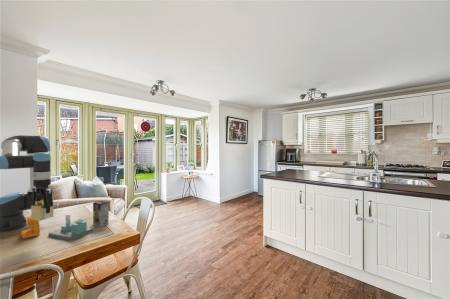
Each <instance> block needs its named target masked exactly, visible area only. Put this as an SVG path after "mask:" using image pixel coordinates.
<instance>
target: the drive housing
mask: <svg viewBox="0 0 450 299" xmlns="http://www.w3.org/2000/svg"><path fill="white" fill-rule="evenodd" d="M87 222H88V221H85V219H84V217H83V218H82V217H81V218H80V219H77V220H75V221H74V222H72V223H71V214H70V213H69V214H68V213H67V214H65V224H64V225H62V226H61V227H60V228H58V229H56V230H53V231H51V232H48V237H50V238H56V239H60V240H65V241H70V242H71V241H72V242H73V241H74V240H76V239H79V238H81V237H84V236H85V235H88V234H90V233H92V232H93V231H94V228H93V227H88V225H87Z"/></svg>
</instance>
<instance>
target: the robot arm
mask: <svg viewBox="0 0 450 299" xmlns="http://www.w3.org/2000/svg"><path fill="white" fill-rule="evenodd" d="M0 149H1V150H2V152H1V155H0V170H13V169H15V170H16V169H17V170H18V169H29V189H28V190H27V191H26V193H23V192H22V191H19V192H13V193H8V194H5V195H1V196H0V232H10V231H13V230H18V229H21V228H23V227H25V226H28V223H27V219H26V217H25V215H24V211H28V210H29V211H30V210H31V206H32V205H36V204H35V201H39V200H43V202H44V206H45V207H44V220H47V219H50V207H51V206H53V207H54V199H53V189H52V188H51V189H50V188H49V187H50V186H51V184H52V180H51V179H52V178H51V177H52V173H51V162H52V161H51V159H52V157H51V153H50V151H51V144H50V139H49V137H48V136H45V135H22V134H21V135H20V134H18V135H14V136H13V135H12V136H10V137H8V138H6V139H4V140H3V141H1V143H0ZM20 152H26V155H21V153H20Z"/></svg>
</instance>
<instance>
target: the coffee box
mask: <svg viewBox="0 0 450 299" xmlns="http://www.w3.org/2000/svg"><path fill="white" fill-rule="evenodd" d="M92 205H93V206H92V208H93V210H92V211H93V213H92V215H93V217H92V218H93V220H92V221H93V225H95V226H97V227H103V226H106V225H108V224H109V206H110V205H109V202H108V201H104V200H98V201H95V202H93V203H92Z"/></svg>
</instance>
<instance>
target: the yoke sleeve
mask: <svg viewBox="0 0 450 299" xmlns="http://www.w3.org/2000/svg"><path fill="white" fill-rule="evenodd" d="M35 204H36V205H32V206H31V209H30V210H31V216H30V217H31V219H32V220H37V221H39V222H40V221H44V220H45V219H44V207H45V206H44V202H43V200H39V201H35ZM50 218H55V217H54V205H53V206H51V207H50ZM50 218H49V219H50Z"/></svg>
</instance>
